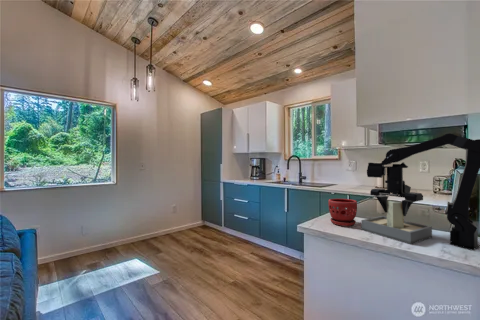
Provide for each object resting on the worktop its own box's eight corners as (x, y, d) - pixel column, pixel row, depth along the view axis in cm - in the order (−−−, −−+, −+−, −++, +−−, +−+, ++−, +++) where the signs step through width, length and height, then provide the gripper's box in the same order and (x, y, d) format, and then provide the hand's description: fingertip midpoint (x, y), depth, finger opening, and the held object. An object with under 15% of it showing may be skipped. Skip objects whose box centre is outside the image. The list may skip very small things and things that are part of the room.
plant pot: (363, 225, 111) (362, 200, 111) (344, 229, 105) (344, 203, 105) (340, 218, 123) (340, 196, 123) (322, 222, 117) (322, 198, 117)
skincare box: (404, 232, 95) (404, 203, 95) (392, 231, 96) (393, 202, 96) (396, 227, 101) (397, 200, 101) (386, 226, 102) (386, 199, 102)
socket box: (432, 237, 93) (432, 226, 93) (410, 244, 86) (410, 232, 86) (382, 224, 111) (382, 215, 111) (361, 229, 104) (361, 220, 104)
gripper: (430, 178, 94) (430, 216, 94) (383, 176, 110) (384, 208, 110) (415, 180, 89) (415, 220, 89) (369, 177, 105) (369, 210, 105)
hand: (395, 214), depth 98 cm, fingers closed on skincare box, 7 cm apart
